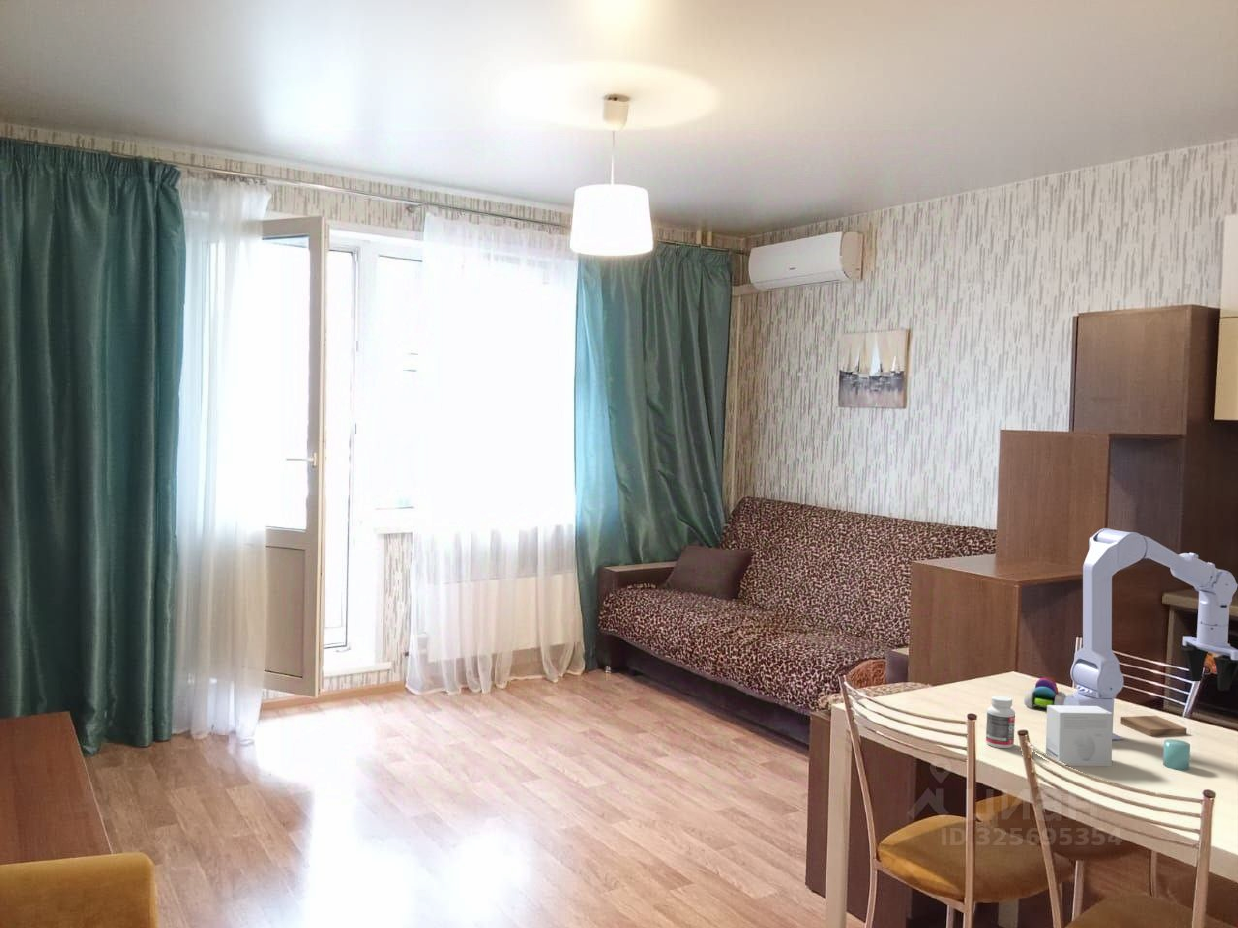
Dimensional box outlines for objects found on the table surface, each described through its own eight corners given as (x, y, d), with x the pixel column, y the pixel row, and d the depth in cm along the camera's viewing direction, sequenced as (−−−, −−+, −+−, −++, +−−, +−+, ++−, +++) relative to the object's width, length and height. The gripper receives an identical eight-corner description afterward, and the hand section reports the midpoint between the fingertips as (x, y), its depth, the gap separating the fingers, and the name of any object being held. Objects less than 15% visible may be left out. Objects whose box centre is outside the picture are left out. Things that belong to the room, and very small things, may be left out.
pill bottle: (1014, 750, 199) (1016, 702, 199) (986, 747, 201) (988, 699, 201) (1012, 742, 205) (1014, 695, 204) (985, 739, 206) (986, 693, 206)
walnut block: (1149, 740, 210) (1149, 729, 210) (1120, 727, 219) (1120, 716, 219) (1185, 739, 212) (1186, 728, 212) (1155, 726, 221) (1156, 715, 221)
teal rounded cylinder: (1174, 772, 189) (1175, 746, 189) (1157, 764, 193) (1158, 739, 193) (1194, 771, 190) (1195, 746, 189) (1177, 764, 194) (1178, 738, 194)
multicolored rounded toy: (1068, 706, 233) (1069, 676, 233) (1061, 716, 225) (1063, 684, 225) (1029, 700, 238) (1031, 670, 238) (1022, 709, 230) (1023, 679, 230)
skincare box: (1095, 756, 197) (1098, 704, 197) (1112, 767, 191) (1114, 713, 191) (1043, 755, 197) (1046, 703, 197) (1058, 766, 191) (1061, 712, 190)
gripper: (1256, 630, 208) (1252, 693, 209) (1202, 616, 223) (1199, 676, 223) (1227, 630, 207) (1223, 694, 207) (1175, 617, 221) (1172, 677, 222)
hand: (1209, 685), depth 215 cm, fingers open, 7 cm apart
